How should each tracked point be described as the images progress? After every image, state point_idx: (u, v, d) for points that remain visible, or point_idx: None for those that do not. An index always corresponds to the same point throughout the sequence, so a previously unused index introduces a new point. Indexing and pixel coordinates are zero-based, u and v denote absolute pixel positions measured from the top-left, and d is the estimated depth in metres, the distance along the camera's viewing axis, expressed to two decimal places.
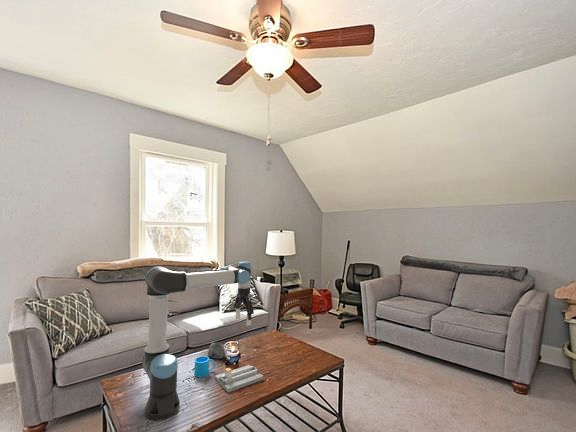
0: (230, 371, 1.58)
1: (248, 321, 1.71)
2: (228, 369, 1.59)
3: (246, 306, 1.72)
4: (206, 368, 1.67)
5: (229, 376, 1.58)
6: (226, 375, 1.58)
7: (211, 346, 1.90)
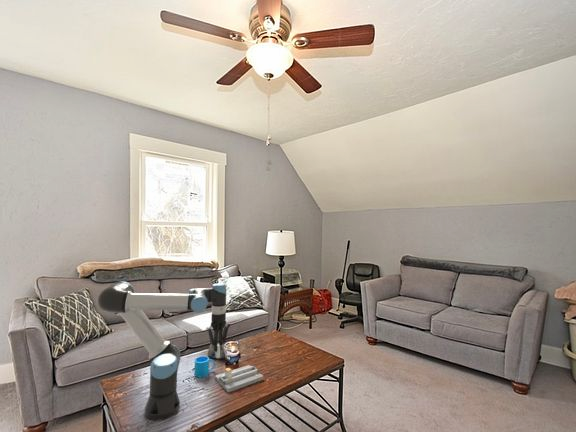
0: (230, 371, 1.58)
1: (216, 352, 1.55)
2: (228, 369, 1.59)
3: (214, 335, 1.55)
4: (206, 368, 1.67)
5: (229, 376, 1.58)
6: (226, 375, 1.58)
7: (211, 346, 1.90)
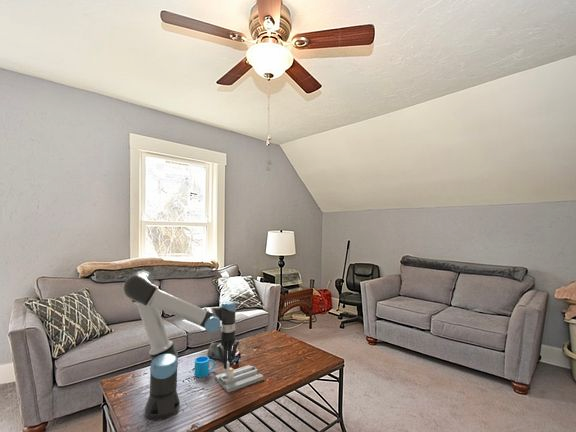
0: (232, 370, 1.59)
1: (225, 369, 1.59)
2: (230, 368, 1.60)
3: (223, 352, 1.59)
4: (206, 368, 1.67)
5: (231, 375, 1.59)
6: None
7: (211, 346, 1.89)
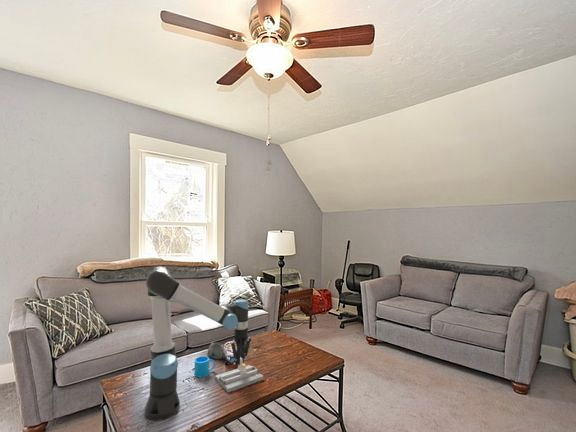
0: (245, 366, 1.64)
1: (238, 365, 1.64)
2: (243, 364, 1.65)
3: None
4: (206, 368, 1.67)
5: (244, 371, 1.64)
6: None
7: (211, 346, 1.89)
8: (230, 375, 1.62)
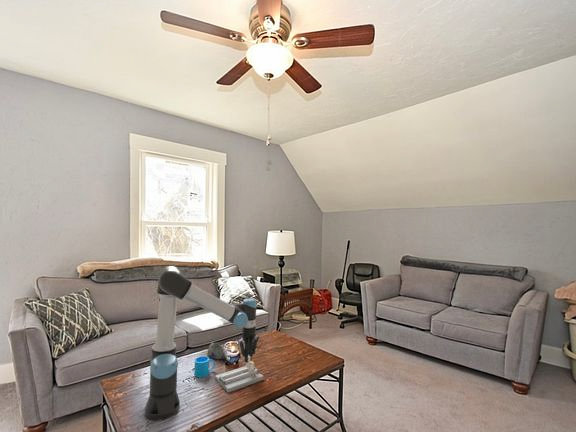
0: (253, 364, 1.67)
1: (246, 363, 1.67)
2: (251, 362, 1.68)
3: None
4: (206, 368, 1.67)
5: (252, 369, 1.67)
6: (249, 368, 1.67)
7: (210, 346, 1.89)
8: (230, 375, 1.62)
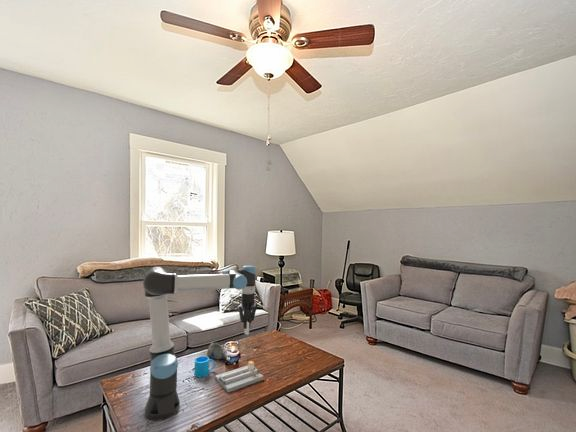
0: (253, 364, 1.67)
1: (245, 329, 1.67)
2: (251, 362, 1.68)
3: None
4: (206, 368, 1.67)
5: (252, 369, 1.67)
6: (249, 368, 1.67)
7: (210, 346, 1.89)
8: (230, 375, 1.62)
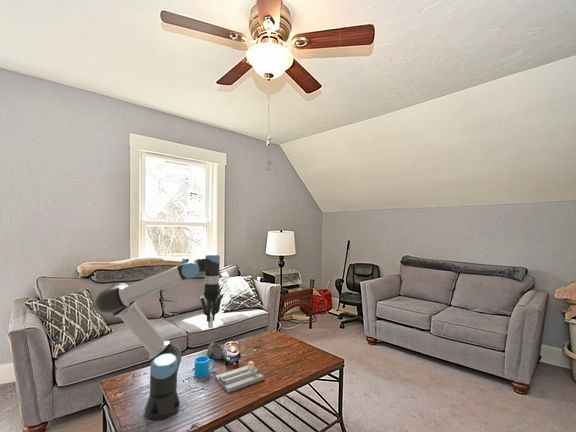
0: (253, 364, 1.67)
1: (208, 322, 1.54)
2: (251, 362, 1.68)
3: (207, 305, 1.54)
4: (206, 368, 1.67)
5: (252, 369, 1.67)
6: (249, 368, 1.67)
7: (210, 346, 1.89)
8: (230, 375, 1.62)
